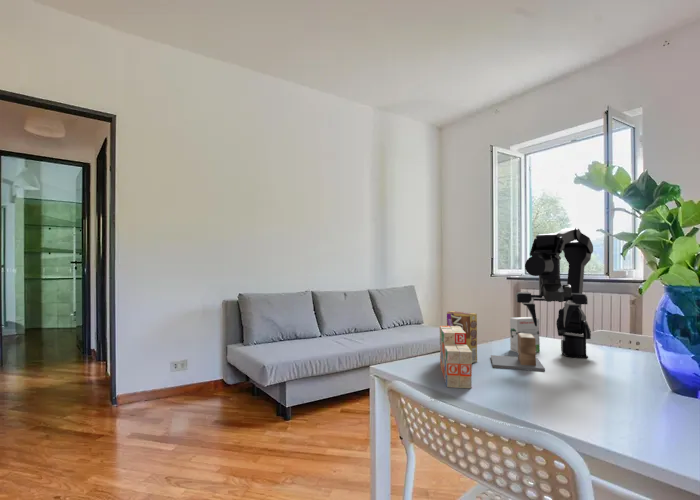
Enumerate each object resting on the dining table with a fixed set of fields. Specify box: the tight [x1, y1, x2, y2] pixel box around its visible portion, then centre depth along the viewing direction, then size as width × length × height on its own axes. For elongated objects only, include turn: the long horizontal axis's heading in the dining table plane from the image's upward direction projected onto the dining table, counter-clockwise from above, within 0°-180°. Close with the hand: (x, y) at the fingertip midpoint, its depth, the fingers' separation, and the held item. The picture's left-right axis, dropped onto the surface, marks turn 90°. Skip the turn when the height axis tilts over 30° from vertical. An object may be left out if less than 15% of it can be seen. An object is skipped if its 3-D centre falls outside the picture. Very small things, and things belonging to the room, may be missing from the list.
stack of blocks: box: [439, 325, 473, 389], centre depth 106 cm, size 21×6×12 cm, turn 171°
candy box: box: [446, 310, 478, 364], centre depth 122 cm, size 9×4×15 cm, turn 39°
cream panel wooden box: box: [517, 333, 537, 366], centre depth 117 cm, size 4×7×8 cm, turn 163°
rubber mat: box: [490, 354, 546, 372], centre depth 117 cm, size 14×12×1 cm
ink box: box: [509, 316, 541, 354], centre depth 134 cm, size 9×5×12 cm, turn 99°
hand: (550, 326), depth 115 cm, fingers open, 8 cm apart
